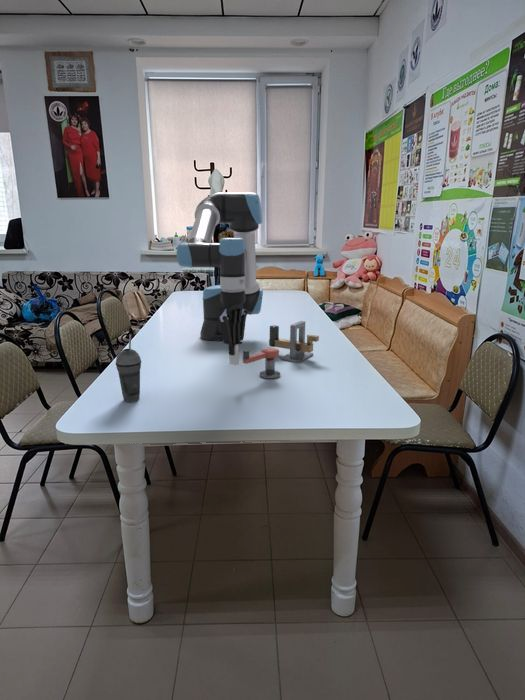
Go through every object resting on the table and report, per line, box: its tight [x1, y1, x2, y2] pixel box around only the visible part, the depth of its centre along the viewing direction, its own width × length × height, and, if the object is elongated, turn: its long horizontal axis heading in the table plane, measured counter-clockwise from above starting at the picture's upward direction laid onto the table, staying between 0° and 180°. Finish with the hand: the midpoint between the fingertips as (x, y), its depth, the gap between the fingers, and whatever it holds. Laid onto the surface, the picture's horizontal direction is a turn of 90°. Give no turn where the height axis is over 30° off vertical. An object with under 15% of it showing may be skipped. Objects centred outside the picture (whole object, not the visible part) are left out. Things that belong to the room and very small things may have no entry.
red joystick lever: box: [242, 347, 280, 365], centre depth 148 cm, size 15×6×4 cm, turn 137°
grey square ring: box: [280, 320, 314, 364], centre depth 172 cm, size 8×12×14 cm, turn 148°
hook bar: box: [268, 325, 320, 353], centre depth 173 cm, size 21×4×8 cm, turn 58°
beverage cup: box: [115, 334, 142, 403], centre depth 130 cm, size 7×7×20 cm
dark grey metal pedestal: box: [259, 358, 281, 380], centre depth 153 cm, size 7×7×7 cm
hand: (234, 363), depth 143 cm, fingers closed
